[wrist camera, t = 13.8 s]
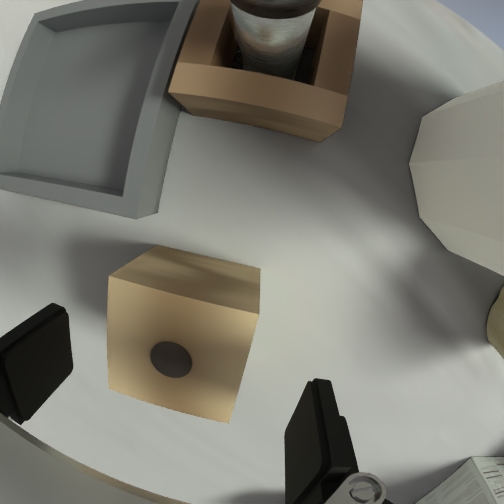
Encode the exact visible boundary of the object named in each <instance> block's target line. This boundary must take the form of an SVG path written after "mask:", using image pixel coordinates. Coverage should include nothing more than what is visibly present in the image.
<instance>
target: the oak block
mask: <svg viewBox="0 0 504 504" xmlns="http://www.w3.org/2000/svg"><path fill="white" fill-rule="evenodd" d="M259 306H260V269H259V268H255V267H250V266H246V265H242V264H237V263H233V262H229V261H224V260H220V259H216V258H211V257H207V256H203V255H199V254H194V253H190V252H186V251H182V250H178V249H173V248H169V247H165V246H161V245H156V246H155V247H153V248H151V249H150V250H148V251H147V252H145V253H143V254H142V255H140V256H139V257H137V258H135V259H134V260H132V261H131V262H129V263H128V264H126V265H124V266H123V267H121V268H120V269H118V270H117V271H115V272H114V273H112V274H111V275H109V280H108V302H107V359H108V380H109V389H111V390H114V391H117V392H119V393H122V394H125V395H128V396H130V397H133V398H136V399H139V400H142V401H145V402H148V403H152V404H155V405H158V406H161V407H165V408H168V409H172V410H175V411H179V412H182V413H186V414H190V415H194V416H198V417H202V418H207V419H211V420H216V421H220V422H225V423H229V422H230V418H231V415H232V411H233V408H234V404H235V401H236V397H237V394H238V390H239V387H240V383H241V380H242V376H243V372H244V369H245V365H246V362H247V358H248V354H249V351H250V347H251V343H252V340H253V336H254V332H255V328H256V325H257V321H258V317H259Z"/></svg>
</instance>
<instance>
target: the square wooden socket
mask: <svg viewBox="0 0 504 504" xmlns="http://www.w3.org/2000/svg"><path fill="white" fill-rule="evenodd" d="M362 4H363V0H322V1H321V3H320V4H319V5H318V6H317V7H316V10H315V13H314V16H313V19H312V23H311V26H310V29H309V32H308V35H307V39H306V42H305V45H304V46H305V47H309V48H313V49H314V53H313V58H312V62H311V67H310V71H309V76H308V80H307V84H305V83H301V82H297V81H293V80H289V79H284V78H280V77H275V76H271V75H266V74H261V73H256V72H250V71H245V70H239V69H232V65H233V62H234V58H235V55H236V52H237V48H238V45H239V44H238V38H237V33H236V27H235V22H234V16H233V11H232V6H231V1H230V0H200V3H199V5H198V8H197V10H196V13H195V15H194V18H193V20H192V23H191V25H190V28H189V31H188V33H187V36H186V39H185V41H184V44H183V47H182V50H181V53H180V56H179V59H178V62H177V65H176V68H175V71H174V74H173V77H172V81H171V84H170V87H169V91H168V92H169V93H170V94H171V95H172V96H173V97H174V98H175V99H176V100H177V101H178V102H179V103H181V104H182V105H183V106H184V107H185V108H186V109H187V110H188V111H189V112H190V113H191V114H192V115H195V116H201V117H208V118H214V119H220V120H225V121H231V122H236V123H241V124H246V125H251V126H256V127H260V128H265V129H269V130H273V131H278V132H282V133H286V134H290V135H294V136H298V137H302V138H305V139H309V140H313V141H316V142H322V141H323V140H324V139H326V138H327V137H329V136H330V135H332V134H333V133H335V132H336V131H337V130H339V129H340V128H342V124H343V119H344V114H345V109H346V104H347V99H348V93H349V88H350V82H351V77H352V71H353V65H354V59H355V53H356V47H357V40H358V34H359V27H360V20H361V12H362Z"/></svg>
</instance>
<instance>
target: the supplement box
mask: <svg viewBox="0 0 504 504" xmlns="http://www.w3.org/2000/svg"><path fill="white" fill-rule="evenodd" d="M415 504H504V457H471V458H469V459H468V460H467V461H466V462H465V463H464V464H463V465H462V466H461V467H460V468H459V469H457V470H456V471H455V472H454V473H453V474H452V475H451V476H450V477H448V478H447V479H446V480H445V481H444V482H442V483H441V484H440V485H439V486H437V487H436V488H435V489H434V490H432V491H431V492H430V493H428V494H427V495H426V496H424V497H423V498H422V499H420V500H419V501H418V502H416V503H415Z"/></svg>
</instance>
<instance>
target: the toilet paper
mask: <svg viewBox="0 0 504 504" xmlns="http://www.w3.org/2000/svg"><path fill="white" fill-rule="evenodd" d="M409 166H410V170H411V175H412V179H413V184H414V189H415V194H416V199H417V205H418V211H419V217H420V218H421V219H422V221H423V222H424V223H425V224H426V225H427V226H428V227H429V228H430V230H431V231H432V232H433V233H434V234H435V235H436V237H437V238H438V239H439V240H440V241H441V243H442V244H443V245H444V246H445V248H446V249H447V250H448V251H450V252H452V253H455V254H457V255H459V256H462V257H464V258H466V259H468V260H471V261H473V262H475V263H477V264H479V265H481V266H484V267H486V268H488V269H490V270H492V271H494V272H496V273H498V274H500V275H502V276H504V81H502V82H499V83H496V84H493V85H490V86H487V87H485V88H482V89H479V90H476V91H473V92H470V93H468V94H465V95H462V96H459V97H457V98H454V99H452V100H450V101H448V102H447V103H445V104H443V105H442V106H440V107H438V108H437V109H435V110H433V111H432V112H430V113H428V114H426V115H425V116H423V117H422V120H421V124H420V128H419V131H418V135H417V138H416V142H415V145H414V149H413V152H412V155H411V159H410V162H409Z"/></svg>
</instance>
